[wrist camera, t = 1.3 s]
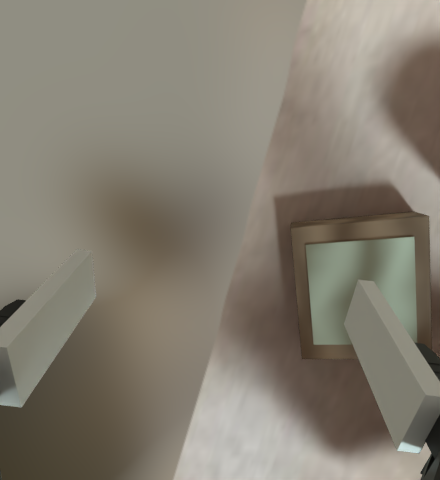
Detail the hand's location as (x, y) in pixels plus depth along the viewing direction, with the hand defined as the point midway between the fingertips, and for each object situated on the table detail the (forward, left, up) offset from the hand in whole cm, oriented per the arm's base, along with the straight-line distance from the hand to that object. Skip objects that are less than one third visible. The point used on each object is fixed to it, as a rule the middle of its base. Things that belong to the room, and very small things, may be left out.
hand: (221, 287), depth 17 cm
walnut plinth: (-10, +9, -27) cm, 30 cm away
